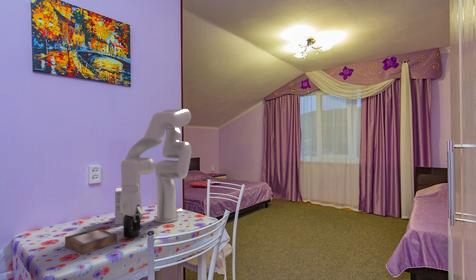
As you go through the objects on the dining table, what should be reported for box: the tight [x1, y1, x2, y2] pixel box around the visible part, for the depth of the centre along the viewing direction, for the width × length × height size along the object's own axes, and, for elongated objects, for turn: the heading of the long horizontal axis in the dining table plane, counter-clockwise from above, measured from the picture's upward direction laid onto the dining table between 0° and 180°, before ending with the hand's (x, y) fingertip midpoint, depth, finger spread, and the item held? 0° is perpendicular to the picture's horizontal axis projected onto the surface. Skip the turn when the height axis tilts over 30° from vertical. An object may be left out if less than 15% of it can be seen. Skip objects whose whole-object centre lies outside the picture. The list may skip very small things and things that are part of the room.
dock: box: [64, 227, 118, 256], centre depth 106 cm, size 14×14×4 cm
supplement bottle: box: [122, 213, 141, 239], centre depth 113 cm, size 7×7×12 cm
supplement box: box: [114, 187, 123, 225], centre depth 136 cm, size 10×9×17 cm
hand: (131, 228), depth 113 cm, fingers closed on supplement bottle, 6 cm apart
